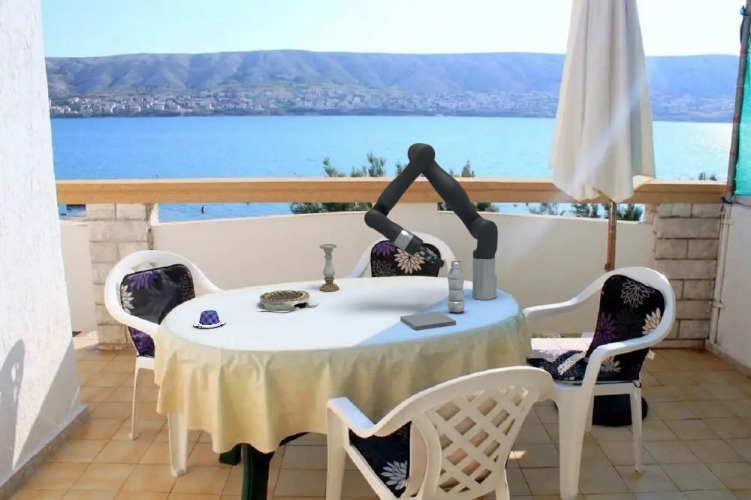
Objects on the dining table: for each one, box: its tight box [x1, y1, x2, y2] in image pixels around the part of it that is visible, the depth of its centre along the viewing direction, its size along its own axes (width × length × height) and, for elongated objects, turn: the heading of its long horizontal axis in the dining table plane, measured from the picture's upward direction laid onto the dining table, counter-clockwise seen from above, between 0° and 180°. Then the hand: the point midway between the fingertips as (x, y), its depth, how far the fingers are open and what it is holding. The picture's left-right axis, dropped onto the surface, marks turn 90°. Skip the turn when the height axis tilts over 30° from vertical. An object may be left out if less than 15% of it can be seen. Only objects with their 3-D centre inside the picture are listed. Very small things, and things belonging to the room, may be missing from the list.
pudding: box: [198, 309, 221, 325], centre depth 242 cm, size 12×12×5 cm
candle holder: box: [319, 243, 340, 293], centre depth 291 cm, size 9×9×20 cm
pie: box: [259, 289, 319, 314], centre depth 269 cm, size 28×27×5 cm
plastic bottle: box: [446, 260, 466, 314], centre depth 250 cm, size 6×7×20 cm
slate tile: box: [399, 311, 457, 331], centre depth 239 cm, size 16×14×2 cm
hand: (443, 265), depth 252 cm, fingers open, 8 cm apart
